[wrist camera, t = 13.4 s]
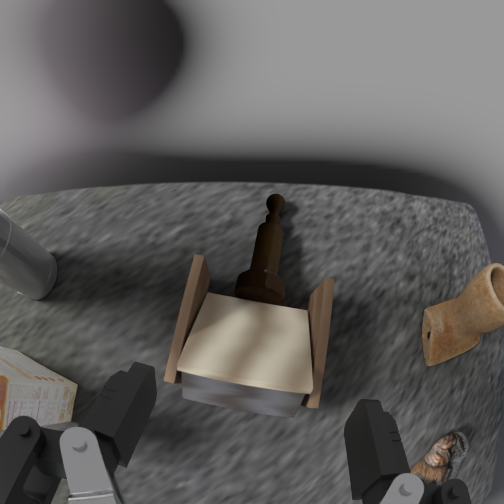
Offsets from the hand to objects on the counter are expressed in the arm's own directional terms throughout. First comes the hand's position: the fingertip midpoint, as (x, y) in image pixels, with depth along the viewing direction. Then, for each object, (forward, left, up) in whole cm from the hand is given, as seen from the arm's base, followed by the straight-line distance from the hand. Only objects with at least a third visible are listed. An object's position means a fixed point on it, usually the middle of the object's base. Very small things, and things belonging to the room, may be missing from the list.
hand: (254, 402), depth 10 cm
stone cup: (+33, +12, -30) cm, 46 cm away
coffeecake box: (-32, -11, -30) cm, 45 cm away
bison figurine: (+32, -12, -30) cm, 45 cm away
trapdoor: (0, +2, -27) cm, 28 cm away
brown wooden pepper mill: (0, +11, -26) cm, 28 cm away
